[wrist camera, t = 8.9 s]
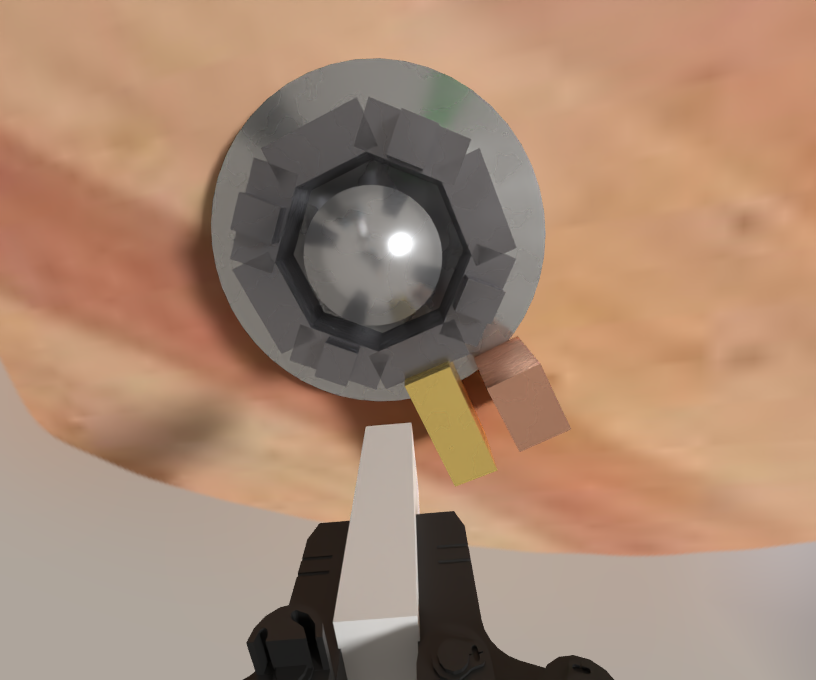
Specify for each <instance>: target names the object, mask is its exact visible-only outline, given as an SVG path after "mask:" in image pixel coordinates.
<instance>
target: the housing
mask: <svg viewBox="0 0 816 680" xmlns="http://www.w3.org/2000/svg"><path fill="white" fill-rule="evenodd" d="M356 97H357V99H358V101H359V103H360V105H361V107H362V109H363V111H364V110H365V107H366V104H367V100H368V97H371V98H374V99H376V100H378V101H381V102H383V103H386V104H388V105H390V106H393V107H395V108H398V109H400V110H401V108H403V109H406V110H408V111H411V112H413V113H415V114H418V115H420V116H423V117H425V118H428V119H430V120H432V121H435V122H437V123H439V126H441V127H444V128H446V129H448V130H451V131H453V132H456V133H458V134H460V135H463V136H465V137H468V138H470V139H471V142H470V144H469V147H468V149H467V152H466V154H468V153H470V152H472V151H474V150H476V149H478V148H480V150H481V153H482V156H483V158H484V161H485V164H486V167H487V169H488V172H489V175H490V177H491V180H492V183H493V185H494V188H495V191H496V193H497V196H498V199H499V202H500V204H501V207H502V210H503V212H504V215H505V218H506V220H507V223H508V226H509V228H510V231H511V234H512V237H513V239H514V242H515V245H516V247H517V248H515V249H513V250H511V251H509V252H506V254H508V255H510V256H512V257H514V258H516V261H515V263H514V265H513V267H512V270H511V272H510V274H509V276H508V279H507V281H506V283H505V285H504V288H503V291H505V292H506V293H505V295H504V297H503V299H502V302H501V304H500V306H499V308H498V310H497V313H496V315H495V317H494V319H493V322H492V324H488V323H487V326H486V328H485V330H484V332H483V335H482V337H481V339H480V341H479V344H478V346H477V347H475V346H472V345H469V344H466V343H465V344H466V346H467V349H468V351H469V355H466V356H464V357H462V358H459V359H457V360H455V361H453V363H454V365H455V368H456V370H457V372H458V374H459V376H460V379H461V380H462V379H464V378H466V377H468V376H470V375H471V374H472V373H474V372H475V371H476V370H478V369H479V372H480V374H481V376H482V379H483V381H484V383H485V386H486V388H487V390H488V392H489V394H490V396H491V398H492V400H493V402H494V404H495V406H496V407H497V409H498V411H499V413H500V415H501V417H502V419H503V421H504V423H505V425H506V427H507V428H508V430H509V432H510V434H511V436H512V438H513V440H514V442H515V444H516V446H517V448H518V449H519V451H520V452H521V451H523V450H525V449H528V448H530V447H532V446H534V445H537V444H539V443H541V442H543V441H546V440H548V439H550V438H552V437H555V436H557V435H559V434H561V433H564V432H566V431H568V430H570V429H571V428H570V426H569V424H568V421H567V419H566V417H565V415H564V413H563V411H562V409H561V407H560V404H559V402H558V400H557V398H556V396H555V394H554V392H553V390H552V387H551V385H550V383H549V381H548V379H547V377H546V375H545V373H544V370H543V368H542V366H541V364H540V363H539V361H538V360H537V359H536V358H535V357H534V355H533V354H532V353H531V352H530V351H529V349H528V348H527V347H526V346H525V345H524V343H523V342H522V341H521V340H520V339H519V337H518V336H517V337H514V338H512V339H510V337H511V336H512V335H513V334H514V332H515V330H516V329H517V327H518V326H519V324H520V323H521V321H522V319H523V318H524V316H525V314H526V312H527V310H528V308H529V306H530V303H531V301H532V299H533V297H534V294H535V291H536V288H537V285H538V282H539V279H540V274H541V269H542V264H543V259H544V248H545V219H544V209H543V204H542V198H541V193H540V188H539V185H538V182H537V179H536V176H535V173H534V171H533V168H532V165H531V163H530V161H529V159H528V157H527V155H526V153H525V151H524V149H523V147H522V145H521V143H520V142H519V140H518V139H517V137H516V136H515V134H514V133H513V131H512V130H511V128H510V127H509V125H508V124H507V123H506V122H505V121H504V120H503V119H502V117H501V116H500V115H499V114H498V113H497V112H496V111H495V110H494V109H493V107H492V106H491V105H489V104H488V103H487V102H486V101H485V100H483V99H482V98H481V97H480V96H479V95H477V94H476V93H475V92H474V91H473V90H471V89H469V88H468V87H466V86H465V85H463V84H461V83H460V82H458V81H457V80H455V79H453V78H452V77H449V76H447V75H445V74H442V73H440V72H438V71H436V70H433V69H431V68H429V67H425V66H421V65H417V64H414V63H410V62H406V61H399V60H390V59H381V58H378V59H355V60H350V61H345V62H340V63H335V64H330V65H328V66H325V67H322V68H319V69H317V70H314V71H311V72H308V73H306V74H305V75H303V76H301V77H299V78H297V79H295V80H294V81H292V82H290V83H288V84H286V85H285V86H284V87H282V88H281V89H280V90H278V91H277V92H276V93H275V94H273V95H272V96H271V97H269V98H268V99H267V100H266V101H265V102H264V103H263V104H262V105H261V106H260V107H259V108H258V109H257V110H256V111H255V112H254V113H253V114H252V115H251V116H250V118H249V119H248V120H247V122H246V123H245V125H244V126H243V127H242V129H241V130H240V131H239V133H238V134H237V136H236V138H235V140H234V141H233V143H232V145H231V147H230V149H229V151H228V153H227V155H226V157H225V160H224V162H223V165H222V168H221V171H220V173H219V176H218V179H217V184H216V189H215V193H214V198H213V206H212V218H211V231H212V247H213V253H214V259H215V264H216V269H217V272H218V276H219V279H220V282H221V285H222V288H223V291H224V293H225V295H226V297H227V300H228V302H229V304H230V306H231V308H232V310H233V312H234V313H235V315H236V317H237V318H238V320H239V322H240V323H241V325H242V327H243V328H244V329H245V331H246V332H247V333H248V334H249V336H250V337H251V338H252V340H253V341H254V342H255V343H256V344H257V345H258V346H259V347H260V348H261V349H262V350H263V351H264V352H265V353H266V354H267V355H268V356H269V357H270V358H271V359H272V360H273V361H275V362H276V363H277V364H278V365H280V366H281V367H282V368H283V369H285V370H286V371H287V372H289V373H291V374H292V375H294V376H295V377H297V378H299V379H300V380H302V381H304V382H306V383H308V384H310V385H312V386H314V387H317V388H319V389H321V390H324V391H327V392H330V393H333V394H336V395H339V396H344V397H348V398H353V399H358V400H369V401H397V400H404V399H411V398H410V396H409V394H408V392H407V390H406V388H405V382H402V383H400V384H398V385H395V386H393V387H391V388H388V389H386V388H385V386H384V385H383V383H382V381H381V379H380V381H379V384H378V387H377V389H376V390H375V389H373V388H370V387H367V386H364V385H361V384H358V383H355V382H352V381H349V380H348V383H347V386H346V387H345V386H342V385H339V384H336V383H333V382H330V381H327V380H324V379H321V378H318V377H315V372H316V369H313V368H310V367H307V366H304V365H301V364H298V363H296V362H293V361H290V356H291V353H292V350H293V349H291V350H289V351H287V352H285V353H282V354H281V352H280V351H279V349H278V347H277V346H276V344H275V342H274V340H273V339H272V337H271V335H270V334H269V332H268V330H267V329H266V327H265V325H264V323H263V322H262V320H261V318H260V317H259V315H258V313H257V312H256V310H255V308H254V306H253V305H252V303H251V301H250V300H249V298H248V296H247V295H246V293H245V291H244V289H243V288H242V286H241V284H240V283H239V281H238V279H237V278H236V276H235V274H234V272H233V271H232V269H234V268H236V267H238V266H240V265H242V264H243V263H240V262H238V261H235V260H232V259H230V256H231V252H232V248H233V243H234V239H235V235H236V231H234V230H231V229H230V228H231V224H232V220H233V215H234V211H235V207H236V202H237V198H238V194H239V192H243V193H245V192H246V188H247V184H248V179H249V175H250V171H251V167H252V162H253V158H257V159H261V160H264V161H267V159H266V157H265V156H264V154H263V152H262V150H261V148H262V147H264V146H266V145H267V144H269V143H271V142H273V141H275V140H277V139H279V138H281V137H283V136H284V135H286V134H288V133H290V132H292V131H294V130H296V129H298V128H299V127H301V126H303V125H305V124H307V123H309V122H311V121H313V120H315V119H316V118H318V117H320V116H322V115H324V114H326V113H328V112H330V111H331V110H333V109H335V108H337V107H339V106H341V105H343V104H345V103H347V102H348V101H350V100H352V99H354V98H356ZM267 162H268V161H267ZM462 250H463V247H462V245H461V242H460V240H459V237H458V235H457V232H456V230H455V228H454V225H453V223H452V220H451V218H450V215H449V213H448V211H447V208H446V206H445V203H444V201H443V198H442V196H441V194H440V191H439V189H438V186H437V185H436V184H433V183H431V182H428V181H426V180H423V179H421V178H418V177H416V176H413V175H411V174H408V173H406V172H403V171H400V170H398V169H395V168H393V167H390V166H388V165H385V164H383V163H380V162H378V161H375V160H373V159H372V160H371V161H369V162H367V163H365V164H363V165H361V166H359V167H357V168H355V169H353V170H351V171H349V172H347V173H345V174H343V175H341V176H339V177H337V178H335V179H333V180H331V181H329V182H327V183H325V184H323V185H321V186H319V187H317V188H315V189H313V190H312V191H311V194H310V198H309V201H308V205H307V208H306V212H305V216H304V219H303V223H302V226H301V230H300V233H299V237H298V240H297V244H296V248H295V251H294V257H295V258H296V260H297V262H298V264H299V266H300V268H301V270H302V271H303V273H304V275H305V277H306V279H307V281H308V283H309V285H310V286H311V288H312V290H313V292H314V294H315V296H316V298H317V299H318V301H319V303H320V305H321V307H322V309H323V311H324V312H325V313H328V314H331V315H334V316H337V317H339V318H342V319H345V320H348V321H351V322H354V323H356V324H359V325H362V326H365V327H368V328H371V329H373V330H376V331H379V332H382V333H383V332H386V331H388V330H390V329H392V328H395V327H397V326H399V325H401V324H404V323H406V322H408V321H411V320H413V319H415V318H417V317H420V316H422V315H424V314H426V313H429V312H431V311H433V310H435V309H438V308H439V307H440V304H441V302H442V299H443V297H444V294H445V292H446V289H447V287H448V284H449V282H450V280H451V277H452V275H453V272H454V270H455V267H456V265H457V262H458V260H459V257H460V255H461V252H462ZM509 339H510V340H509Z"/></svg>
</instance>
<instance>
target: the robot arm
mask: <svg viewBox="0 0 816 680" xmlns="http://www.w3.org/2000/svg"><path fill="white" fill-rule="evenodd" d="M247 646H248V650H249V653H250V656H251V659H252V662H253V665H254V668H255V672H254V673H253V674H252V675H250V676H249V677H247V678H245V679H243V680H614V679H613V678H612V677H611V676H610V675H609V673H608V672H607V671H606V670H604V669H603V668H602V667H600V666H599V665H597V664H596V663H594V662H593V661H591V660H589V659H585V658H582V657H578V656H574V655H571V656H563V657H558V658H556V659H555V660H554V661H552V662H551V663H549V664H548V665H547V666H546V668H543V667H540V666H537V665H533V664H530V663H526V662H523V661H519V660H517V659H514V658H512V657H510V656H508V655H507V654H505V653H504V652H502V651H501V650H500V649H498V648H497V647H496V645H495V644H494V643H493V642H492V641H491V640H490V638H489V637H488V635H487V633H486V632H485V630H484V626H483V623H482V620H481V614H480V609H479V603H478V598H477V592H476V587H475V581H474V575H473V570H472V565H471V560H470V553H469V548H468V542H467V537H466V531H465V526H464V524H463V523H462V522H461V520H460V519H459V518H458V516H457V515H456V514H455V512H454V511H450V512H438V513H425V514H420V512H419V491H418V481H417V471H416V462H415V452H414V442H413V433H412V423H400V424H388V425H377V426H366V429H365V435H364V440H363V446H362V452H361V458H360V464H359V470H358V476H357V482H356V488H355V494H354V500H353V506H352V512H351V518H350V521H342V522H329V523H320V524H319V525H318V526H317V528H316V529H315V530H314V532H313V533H312V534H311V535H310V537H309V538H308V539H307V543H306V547H305V550H304V554H303V558H302V561H301V565H300V568H299V571H298V577H297V579H296V582H295V586H294V589H293V593H292V596H291V600H290V603H289V605H288V606H284V607H280V608H278V609H277V610H275V611H273V612H272V613H270V614H268V615H267V616H265V618H263V619H262V620H261V622H260V623H259V624H258V625H257V626H256V627H255V628H254V629H253V632H252V633H251V635H250V637H249V639H248V641H247Z"/></svg>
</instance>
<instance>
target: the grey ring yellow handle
mask: <svg viewBox="0 0 816 680" xmlns="http://www.w3.org/2000/svg"><path fill="white" fill-rule="evenodd" d="M470 142H471V139H470V138H468V137H465V136H463V135H460V134H458V133H456V132H453V131H451V130H448V129H446V128H444V127H441V126H439V123H437V122H435V121H432V120H430V119H428V118H425V117H423V116H420V115H418V114H415V113H413V112H411V111H408V110H406V109H403V108H401V110H400V109H398V108H395V107H393V106H390V105H388V104H386V103H383V102H381V101H378V100H376V99H374V98H371V97H368V100H367V104H366V107H365V110H364V111H363V109H362V107H361V105H360V103H359V101H358V99H357V97H356V98H354V99H352V100H350V101H348V102H347V103H345V104H343V105H341V106H339V107H337V108H335V109H333V110H331V111H330V112H328V113H326V114H324V115H322V116H320V117H318V118H316V119H315V120H313V121H311V122H309V123H307V124H305V125H303V126H301V127H299V128H298V129H296V130H294V131H292V132H290V133H288V134H286V135H284V136H283V137H281V138H279V139H277V140H275V141H273V142H271V143H269V144H267V145H266V146H264V147H262V148H261V150H262V152H263V154H264V156H265V157H266V159H267V161H268V162H267V161H264V160H261V159H257V158H253V162H252V167H251V171H250V175H249V179H248V184H247V188H246V192H245V193H243V192H239V194H238V198H237V202H236V207H235V211H234V215H233V220H232V224H231V228H230V229H231V230H234V231H236V235H235V239H234V243H233V248H232V252H231V256H230V259H232V260H235V261H238V262H240V263H243V264H242V265H240V266H238V267H236V268H234V269H232V271H233V272H234V274H235V276H236V278H237V279H238V281H239V283H240V284H241V286H242V288H243V289H244V291H245V293H246V295H247V296H248V298H249V300H250V301H251V303H252V305H253V306H254V308H255V310H256V312H257V313H258V315H259V317H260V318H261V320H262V322H263V323H264V325H265V327H266V329H267V330H268V332H269V334H270V335H271V337H272V339H273V340H274V342H275V344H276V346H277V347H278V349H279V351H280V352H281V354H282V353H285V352H287V351H289V350H291V349H293V350H292V353H291V356H290V361H293V362H296V363H298V364H301V365H304V366H307V367H310V368H313V369H316V372H315V377H318V378H321V379H324V380H327V381H330V382H333V383H336V384H339V385H342V386H345V387H346V386H347V383H348V380H349V381H352V382H355V383H358V384H361V385H364V386H367V387H370V388H373V389H375V390H376V389H377V387H378V384H379V381H380V379H381V381H382V383H383V385H384V386H385V388H386V389H388V388H391V387H393V386H395V385H398V384H400V383H402V382H405V388H406V390H407V392H408V394H409V396H410V398H411V400H412V402H413V404H414V406H415V408H416V410H417V412H418V414H419V416H420V418H421V420H422V422H423V424H424V426H425V428H426V430H427V432H428V434H429V436H430V438H431V440H432V442H433V444H434V446H435V448H436V450H437V451H438V453H439V455H440V457H441V459H442V461H443V463H444V465H445V467H446V469H447V471H448V473H449V475H450V477H451V479H452V481H453V483H454V485H455V486H458V485H460V484H463V483H466V482H468V481H471V480H474V479H476V478H479V477H482V476H484V475H487V474H490V473H492V472H495V471H497V468H496V465H495V462H494V459H493V456H492V453H491V449H490V446H489V443H488V440H487V437H486V434H485V431H484V429H483V427H482V425H481V422H480V420H479V418H478V416H477V414H476V412H475V409H474V407H473V405H472V403H471V401H470V398H469V396H468V394H467V392H466V390H465V387H464V385H463V383H462V381H461V379H460V376H459V374H458V372H457V370H456V368H455V365H454V363H453V361H455V360H457V359H459V358H462V357H464V356H466V355H469V351H468V349H467V346H466V344H469V345H472V346H475V347H477V346H478V344H479V341H480V339H481V337H482V335H483V332H484V330H485V328H486V326H487V323H488V324H492V322H493V319H494V317H495V315H496V313H497V310H498V308H499V306H500V304H501V302H502V299H503V297H504V295H505V293H506V292H505V291H503V288H504V285H505V283H506V281H507V279H508V276H509V274H510V272H511V270H512V267H513V265H514V263H515V261H516V258H514V257H512V256H510V255H508V254H506V252H509V251H511V250H513V249H515V248H517V247H516V245H515V242H514V239H513V237H512V234H511V231H510V228H509V226H508V223H507V220H506V218H505V215H504V212H503V210H502V207H501V204H500V202H499V199H498V196H497V193H496V191H495V188H494V185H493V183H492V180H491V177H490V175H489V172H488V169H487V167H486V164H485V161H484V158H483V156H482V153H481V150H480V148H478V149H476V150H474V151H472V152H470V153H468V154H466V152H467V149H468V147H469V144H470ZM372 159H373V160H375V161H378V162H380V163H383V164H385V165H388V166H390V167H393V168H395V169H398V170H400V171H403V172H406V173H408V174H411V175H413V176H416V177H418V178H421V179H423V180H426V181H428V182H431V183H433V184H436V185H437V186H438V189H439V191H440V194H441V196H442V198H443V201H444V203H445V206H446V208H447V211H448V213H449V215H450V218H451V220H452V223H453V225H454V228H455V230H456V232H457V235H458V237H459V240H460V242H461V245H462V247H463V250H462V252H461V255H460V257H459V260H458V262H457V265H456V267H455V270H454V272H453V275H452V277H451V280H450V282H449V284H448V287H447V289H446V292H445V294H444V297H443V299H442V302H441V304H440V307H439V308H438V309H435V310H433V311H431V312H429V313H426V314H424V315H422V316H420V317H417V318H415V319H413V320H411V321H408V322H406V323H404V324H401V325H399V326H397V327H395V328H392V329H390V330H388V331H386V332H383V333H382V332H379V331H376V330H373V329H371V328H368V327H365V326H362V325H359V324H356V323H354V322H351V321H348V320H345V319H342V318H339V317H337V316H334V315H331V314H328V313H325V312H324V311H323V309H322V307H321V305H320V303H319V301H318V299H317V298H316V296H315V294H314V292H313V290H312V288H311V286H310V285H309V283H308V281H307V279H306V277H305V275H304V273H303V271H302V270H301V268H300V266H299V264H298V262H297V260H296V258H295V257H294V251H295V248H296V244H297V240H298V237H299V233H300V230H301V226H302V223H303V219H304V216H305V212H306V208H307V205H308V201H309V198H310V194H311V191H312V190H313V189H315V188H317V187H319V186H321V185H323V184H325V183H327V182H329V181H331V180H333V179H335V178H337V177H339V176H341V175H343V174H345V173H347V172H349V171H351V170H353V169H355V168H357V167H359V166H361V165H363V164H365V163H367V162H369V161H371V160H372ZM465 343H466V344H465Z"/></svg>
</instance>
